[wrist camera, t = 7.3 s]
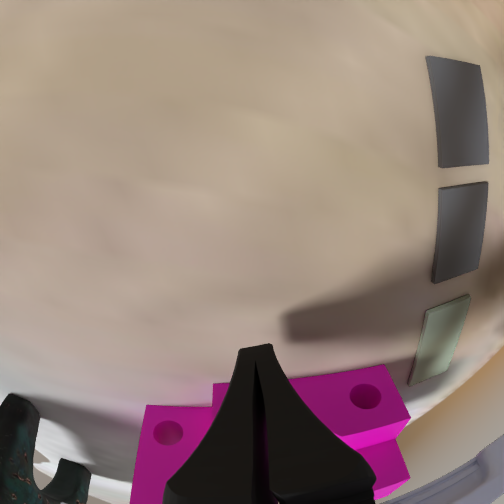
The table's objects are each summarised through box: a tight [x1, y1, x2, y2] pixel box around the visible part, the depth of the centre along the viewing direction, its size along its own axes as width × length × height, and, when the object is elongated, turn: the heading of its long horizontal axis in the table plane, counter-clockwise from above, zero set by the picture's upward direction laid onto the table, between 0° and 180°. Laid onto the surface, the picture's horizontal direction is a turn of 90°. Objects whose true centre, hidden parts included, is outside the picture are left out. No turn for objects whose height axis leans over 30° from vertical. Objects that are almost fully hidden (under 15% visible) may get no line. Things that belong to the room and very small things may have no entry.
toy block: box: [130, 364, 411, 504], centre depth 13 cm, size 15×6×8 cm, turn 91°
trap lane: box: [408, 56, 489, 387], centre depth 14 cm, size 21×29×2 cm
